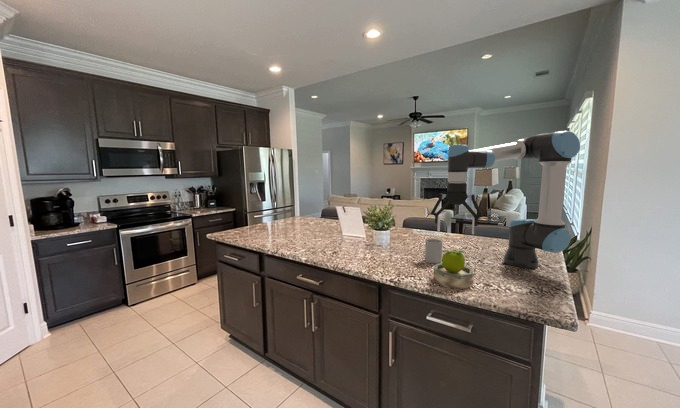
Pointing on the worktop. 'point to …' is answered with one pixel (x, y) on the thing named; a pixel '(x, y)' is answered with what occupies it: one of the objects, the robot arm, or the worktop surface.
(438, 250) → the mug
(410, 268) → the worktop surface
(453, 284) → the shallow stone bowl
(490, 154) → the robot arm
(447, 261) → the fruit
